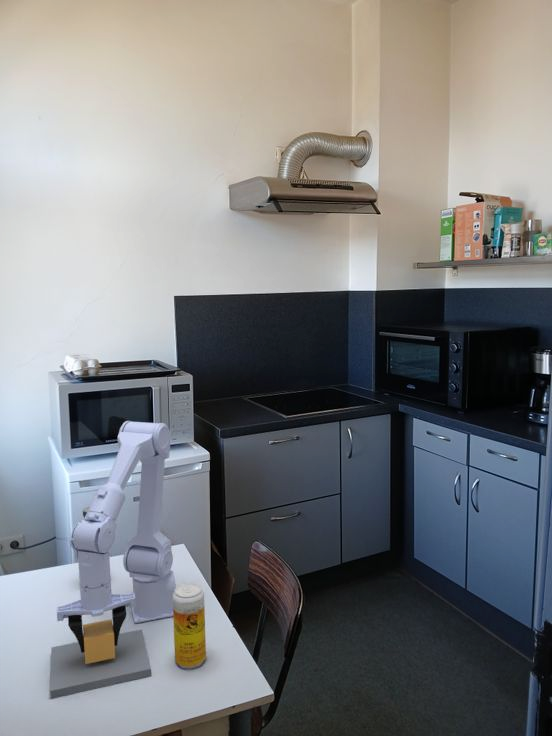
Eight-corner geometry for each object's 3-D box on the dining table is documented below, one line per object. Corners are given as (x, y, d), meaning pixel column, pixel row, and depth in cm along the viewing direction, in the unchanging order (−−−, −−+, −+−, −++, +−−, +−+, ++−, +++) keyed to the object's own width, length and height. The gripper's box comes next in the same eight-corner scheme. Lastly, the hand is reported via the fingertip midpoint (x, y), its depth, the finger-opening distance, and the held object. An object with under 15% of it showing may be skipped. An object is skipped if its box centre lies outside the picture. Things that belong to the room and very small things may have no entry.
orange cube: (112, 642, 121) (111, 619, 120) (115, 657, 116) (113, 633, 115) (84, 648, 119) (82, 624, 118) (85, 664, 114) (83, 639, 113)
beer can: (180, 674, 114) (178, 600, 112) (171, 656, 120) (168, 586, 118) (210, 664, 117) (208, 592, 115) (199, 648, 123) (197, 579, 120)
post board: (142, 635, 127) (141, 614, 126) (151, 675, 114) (150, 651, 113) (51, 654, 121) (50, 631, 120) (50, 698, 108) (48, 673, 107)
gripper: (55, 598, 109) (59, 666, 111) (136, 584, 114) (139, 649, 116) (55, 580, 116) (59, 645, 117) (132, 567, 120) (135, 630, 122)
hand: (99, 646), depth 117 cm, fingers closed on orange cube, 5 cm apart
